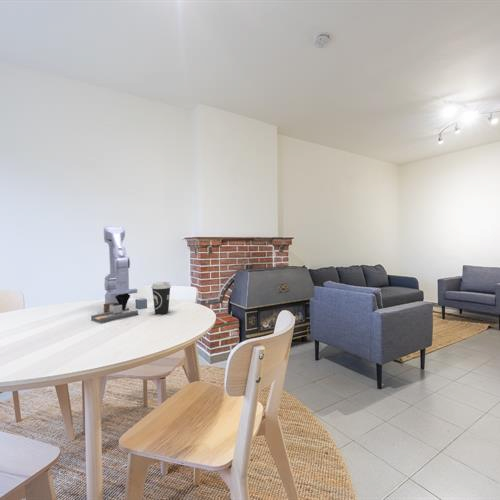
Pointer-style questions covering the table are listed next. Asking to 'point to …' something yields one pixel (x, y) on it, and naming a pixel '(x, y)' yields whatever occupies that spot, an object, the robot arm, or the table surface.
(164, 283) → the coffee cup
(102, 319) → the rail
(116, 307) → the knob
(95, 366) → the table surface
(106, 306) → the walnut block
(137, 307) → the slate-blue block
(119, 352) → the table surface
